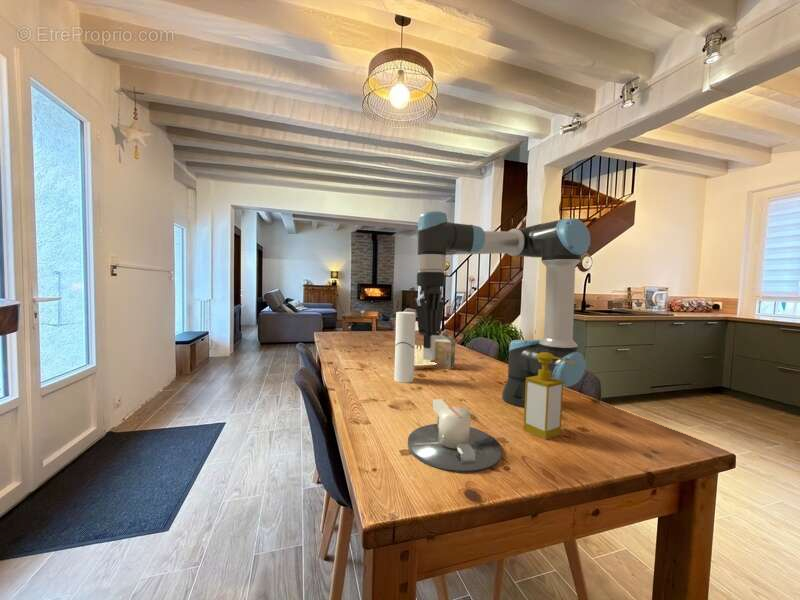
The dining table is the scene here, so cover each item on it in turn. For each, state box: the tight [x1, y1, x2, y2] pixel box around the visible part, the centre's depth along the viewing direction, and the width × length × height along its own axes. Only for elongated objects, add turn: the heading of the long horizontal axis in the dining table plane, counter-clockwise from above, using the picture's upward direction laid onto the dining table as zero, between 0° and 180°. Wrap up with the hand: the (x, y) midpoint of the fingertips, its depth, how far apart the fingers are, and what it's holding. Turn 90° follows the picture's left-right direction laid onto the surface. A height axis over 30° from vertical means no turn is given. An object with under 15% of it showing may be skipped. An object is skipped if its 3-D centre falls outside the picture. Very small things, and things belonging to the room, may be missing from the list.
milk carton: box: [429, 329, 456, 371], centre depth 172 cm, size 11×11×19 cm
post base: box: [407, 416, 503, 473], centre depth 85 cm, size 24×24×4 cm
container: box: [393, 311, 417, 384], centre depth 145 cm, size 9×9×30 cm
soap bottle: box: [522, 352, 576, 441], centre depth 93 cm, size 7×13×24 cm, turn 32°
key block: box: [432, 398, 471, 455], centre depth 87 cm, size 22×8×8 cm, turn 14°
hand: (429, 359), depth 88 cm, fingers closed
